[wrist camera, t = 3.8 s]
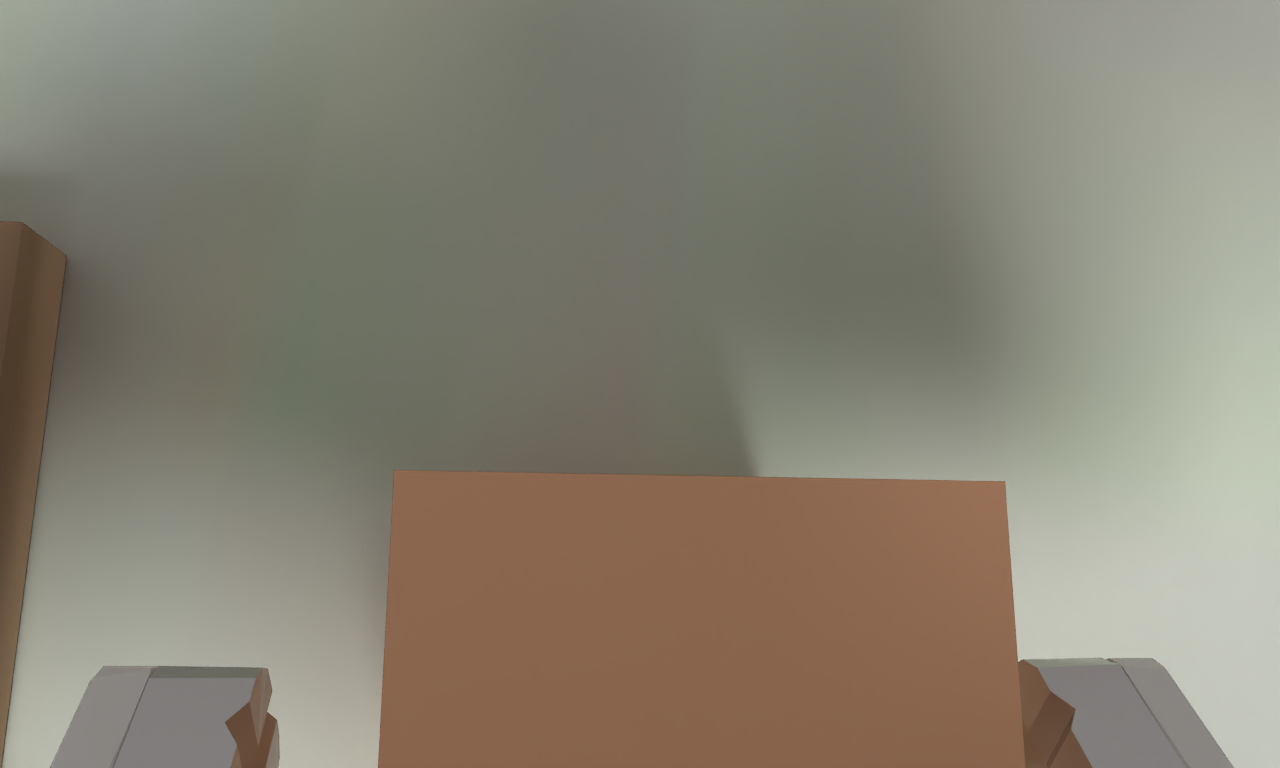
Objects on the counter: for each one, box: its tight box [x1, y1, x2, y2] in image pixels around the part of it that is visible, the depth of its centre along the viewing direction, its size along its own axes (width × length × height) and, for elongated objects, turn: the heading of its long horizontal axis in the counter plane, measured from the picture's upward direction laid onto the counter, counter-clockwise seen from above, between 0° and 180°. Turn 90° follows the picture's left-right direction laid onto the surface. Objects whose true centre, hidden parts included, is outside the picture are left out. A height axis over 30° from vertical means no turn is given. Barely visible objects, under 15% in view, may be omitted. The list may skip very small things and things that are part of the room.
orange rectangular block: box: [378, 470, 1025, 768], centre depth 12 cm, size 5×5×8 cm
